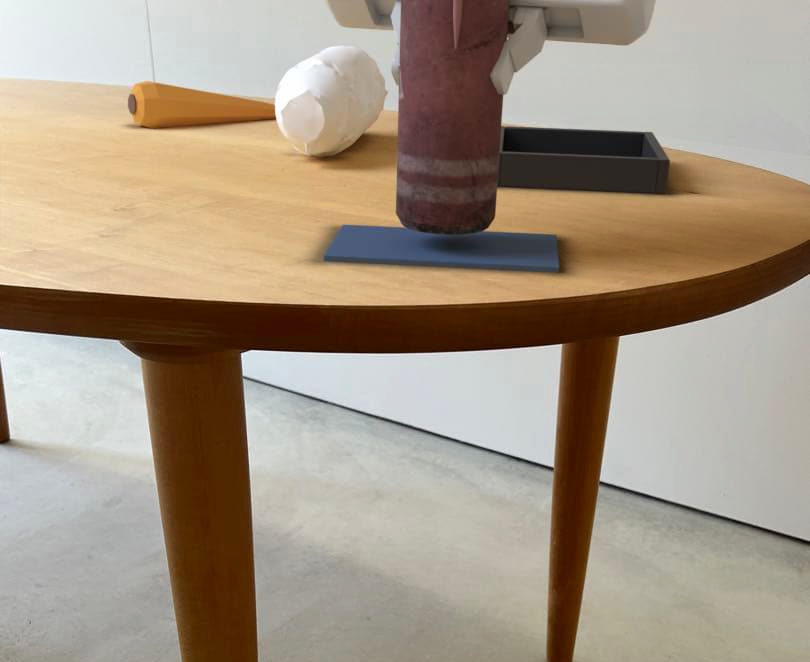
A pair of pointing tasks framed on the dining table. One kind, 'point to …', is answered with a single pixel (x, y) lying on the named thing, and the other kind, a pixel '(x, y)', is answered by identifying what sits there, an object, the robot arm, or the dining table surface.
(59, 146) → the dining table surface
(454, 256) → the blue-grey flat slab
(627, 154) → the dark grey open box
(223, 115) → the carrot
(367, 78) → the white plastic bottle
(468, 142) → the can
